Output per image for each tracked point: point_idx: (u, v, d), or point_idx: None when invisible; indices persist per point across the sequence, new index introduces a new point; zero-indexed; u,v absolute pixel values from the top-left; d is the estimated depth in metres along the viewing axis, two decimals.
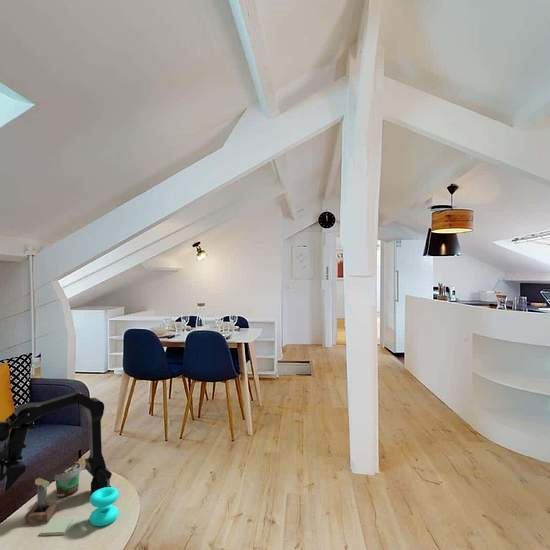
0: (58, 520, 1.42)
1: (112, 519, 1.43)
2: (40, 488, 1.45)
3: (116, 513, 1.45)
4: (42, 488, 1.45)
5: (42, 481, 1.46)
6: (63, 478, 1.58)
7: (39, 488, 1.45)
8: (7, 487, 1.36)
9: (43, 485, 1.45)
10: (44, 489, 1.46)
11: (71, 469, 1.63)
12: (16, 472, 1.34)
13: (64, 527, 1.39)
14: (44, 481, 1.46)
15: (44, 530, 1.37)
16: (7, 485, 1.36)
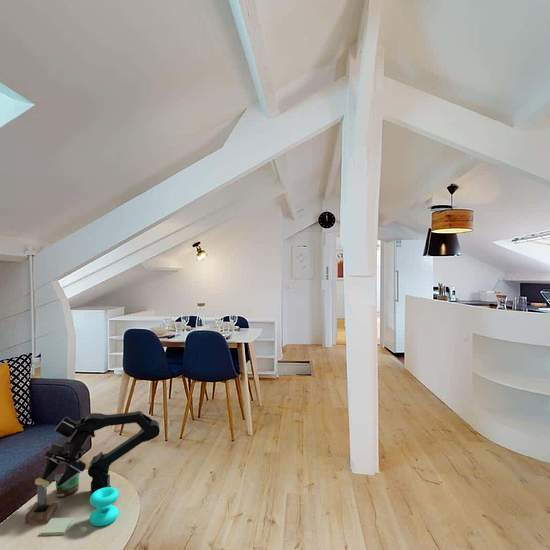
0: (58, 520, 1.42)
1: (112, 519, 1.43)
2: (40, 488, 1.45)
3: (116, 513, 1.45)
4: (42, 488, 1.45)
5: (42, 481, 1.46)
6: None
7: (39, 488, 1.45)
8: (61, 482, 1.48)
9: (43, 485, 1.45)
10: (44, 489, 1.46)
11: None
12: (79, 468, 1.50)
13: (64, 527, 1.39)
14: (44, 481, 1.46)
15: (44, 530, 1.37)
16: (62, 480, 1.48)
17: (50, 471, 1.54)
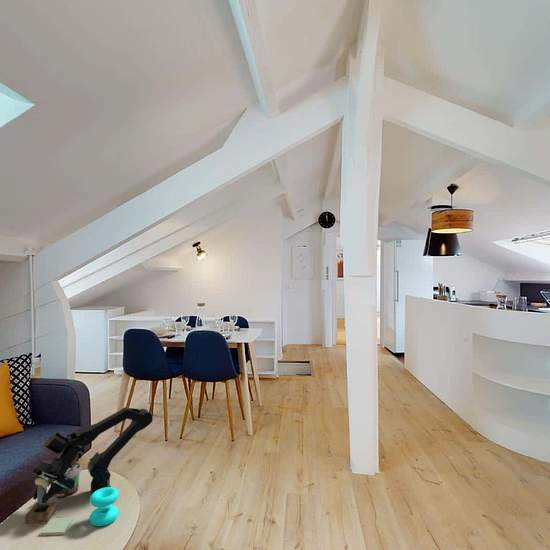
0: (58, 520, 1.42)
1: (112, 519, 1.43)
2: (40, 488, 1.45)
3: (116, 513, 1.45)
4: (42, 488, 1.45)
5: (42, 481, 1.46)
6: None
7: (39, 488, 1.45)
8: (46, 499, 1.44)
9: (43, 485, 1.45)
10: (44, 489, 1.46)
11: (71, 469, 1.63)
12: (68, 486, 1.46)
13: (64, 527, 1.39)
14: (44, 481, 1.46)
15: (44, 530, 1.37)
16: (46, 497, 1.45)
17: None
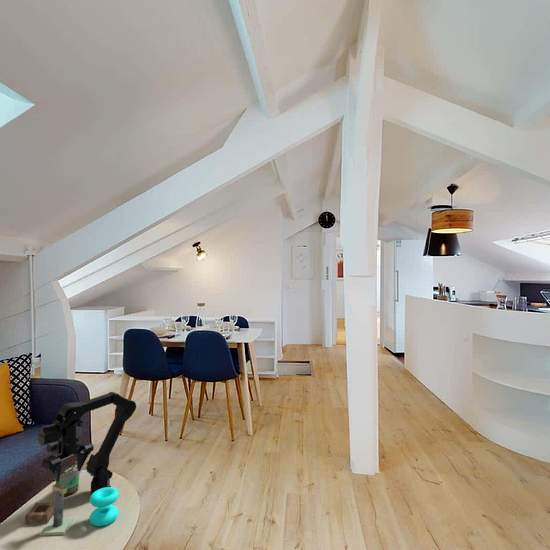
0: None
1: (112, 519, 1.43)
2: (58, 494, 1.39)
3: (116, 513, 1.45)
4: (60, 494, 1.39)
5: (60, 487, 1.40)
6: (63, 478, 1.58)
7: (56, 494, 1.39)
8: (55, 479, 1.48)
9: (61, 491, 1.39)
10: (62, 496, 1.40)
11: (71, 469, 1.63)
12: (45, 467, 1.44)
13: (64, 527, 1.39)
14: (62, 487, 1.40)
15: (44, 530, 1.37)
16: (55, 477, 1.48)
17: (80, 462, 1.57)
